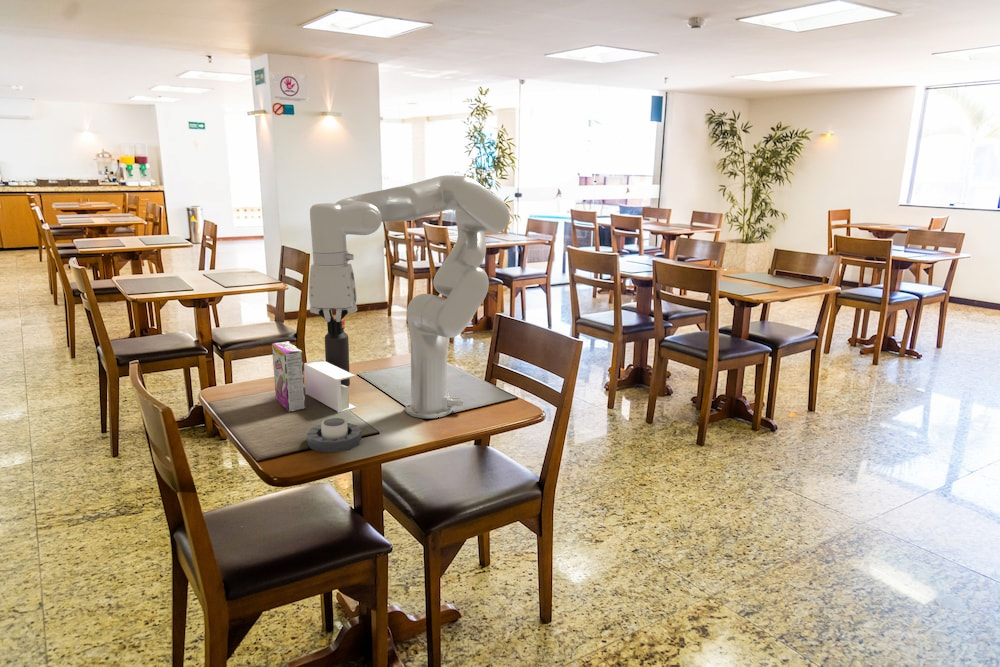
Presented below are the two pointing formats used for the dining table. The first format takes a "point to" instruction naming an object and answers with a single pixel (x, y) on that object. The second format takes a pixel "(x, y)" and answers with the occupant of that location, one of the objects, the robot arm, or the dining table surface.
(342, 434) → the white short cylinder
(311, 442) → the gray notched ring
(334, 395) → the long white box
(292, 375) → the candy bar box
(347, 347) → the bottle
